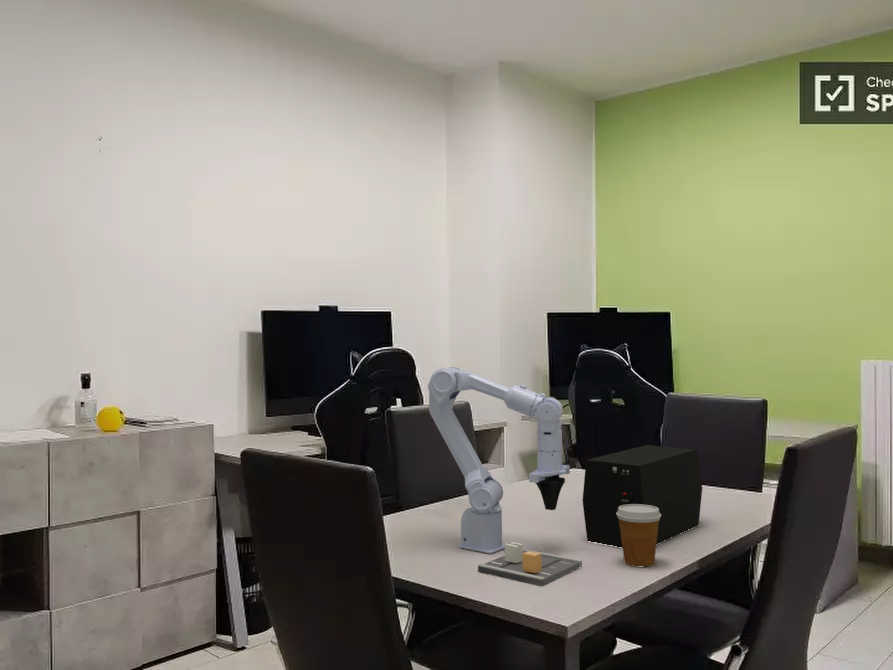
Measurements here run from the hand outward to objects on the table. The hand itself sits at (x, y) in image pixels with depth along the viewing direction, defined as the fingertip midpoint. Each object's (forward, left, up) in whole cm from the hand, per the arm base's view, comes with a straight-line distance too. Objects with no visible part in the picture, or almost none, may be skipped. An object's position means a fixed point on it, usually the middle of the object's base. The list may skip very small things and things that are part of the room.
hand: (550, 509), depth 178 cm
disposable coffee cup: (+20, +4, -10) cm, 23 cm away
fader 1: (0, -15, -8) cm, 17 cm away
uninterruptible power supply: (+10, +28, -10) cm, 31 cm away
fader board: (+4, -14, -10) cm, 18 cm away
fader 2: (+7, -19, -8) cm, 22 cm away
